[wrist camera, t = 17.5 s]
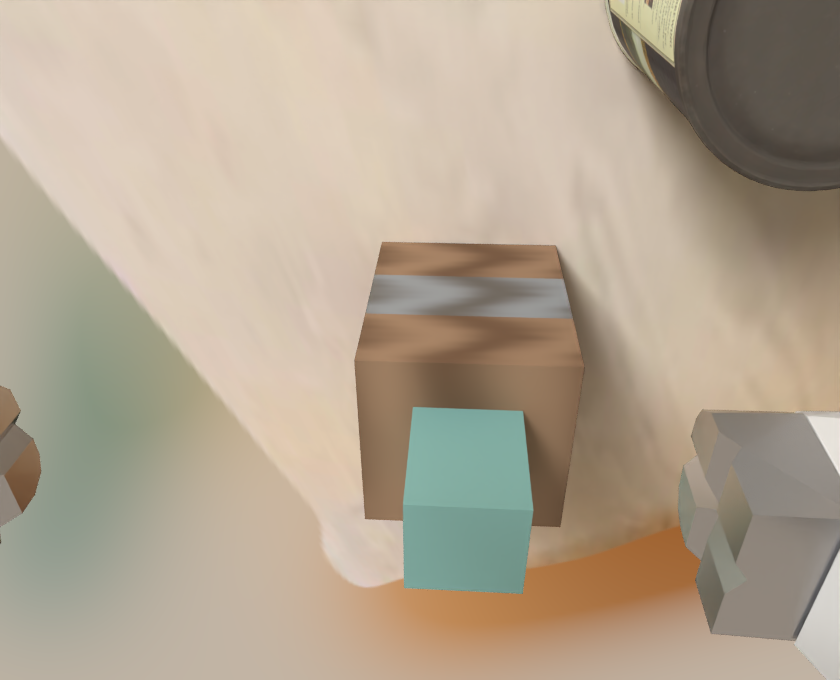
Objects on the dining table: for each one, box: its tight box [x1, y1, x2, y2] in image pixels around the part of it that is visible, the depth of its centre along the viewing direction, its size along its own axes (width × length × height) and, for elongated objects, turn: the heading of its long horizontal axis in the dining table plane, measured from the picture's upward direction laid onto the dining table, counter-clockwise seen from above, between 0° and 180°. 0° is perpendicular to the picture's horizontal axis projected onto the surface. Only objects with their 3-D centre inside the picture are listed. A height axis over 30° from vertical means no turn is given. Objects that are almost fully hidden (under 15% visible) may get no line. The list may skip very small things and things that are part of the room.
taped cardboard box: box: [354, 242, 585, 527], centre depth 38 cm, size 10×10×12 cm
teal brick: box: [403, 407, 533, 594], centre depth 31 cm, size 5×5×6 cm
